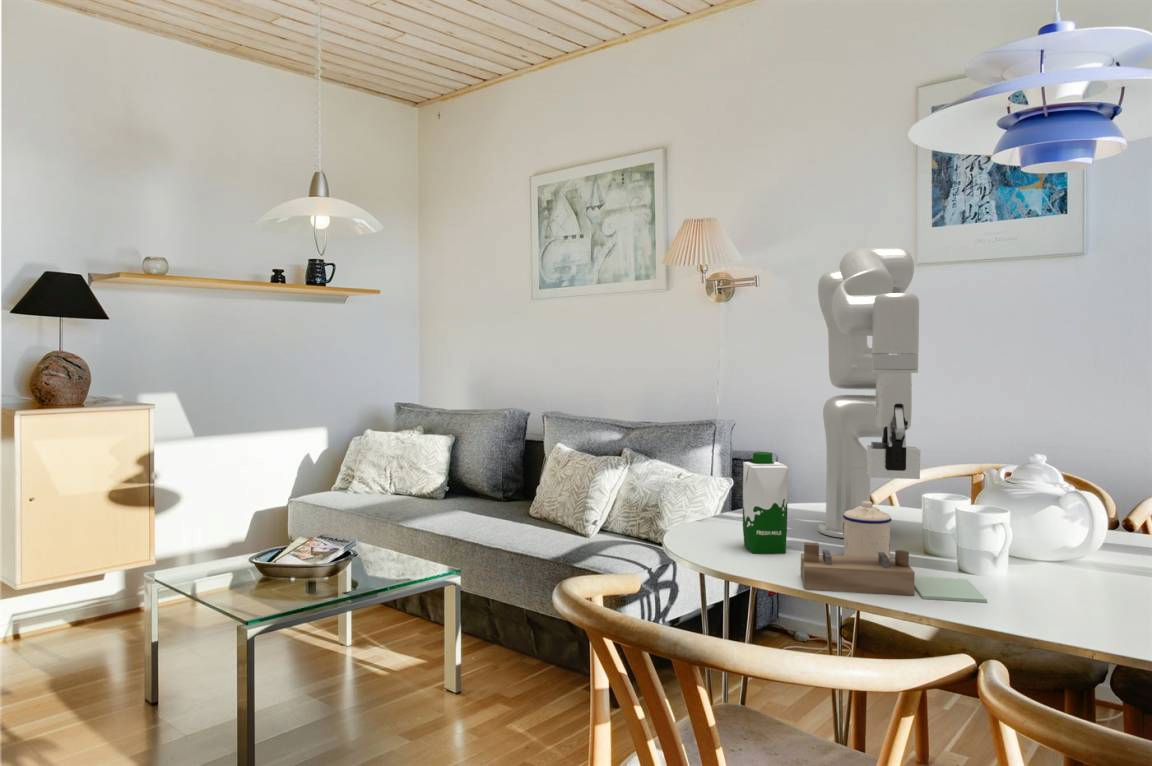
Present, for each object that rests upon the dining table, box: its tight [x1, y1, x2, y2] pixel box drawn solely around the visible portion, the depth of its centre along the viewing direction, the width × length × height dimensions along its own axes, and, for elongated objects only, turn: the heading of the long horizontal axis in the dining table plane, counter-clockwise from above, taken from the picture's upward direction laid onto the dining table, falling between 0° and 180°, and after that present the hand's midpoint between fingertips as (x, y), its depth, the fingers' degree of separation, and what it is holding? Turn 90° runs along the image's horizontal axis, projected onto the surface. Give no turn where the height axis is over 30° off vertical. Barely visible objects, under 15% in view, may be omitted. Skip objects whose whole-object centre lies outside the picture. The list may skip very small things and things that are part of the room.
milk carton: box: [742, 451, 789, 554], centre depth 166 cm, size 9×9×20 cm
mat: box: [914, 575, 988, 603], centre depth 138 cm, size 12×10×1 cm
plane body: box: [800, 541, 915, 597], centre depth 141 cm, size 9×18×7 cm, turn 78°
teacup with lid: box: [842, 500, 893, 558], centre depth 160 cm, size 12×9×12 cm
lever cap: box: [866, 441, 921, 480], centre depth 139 cm, size 5×8×6 cm, turn 77°
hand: (893, 466), depth 139 cm, fingers closed on lever cap, 5 cm apart
